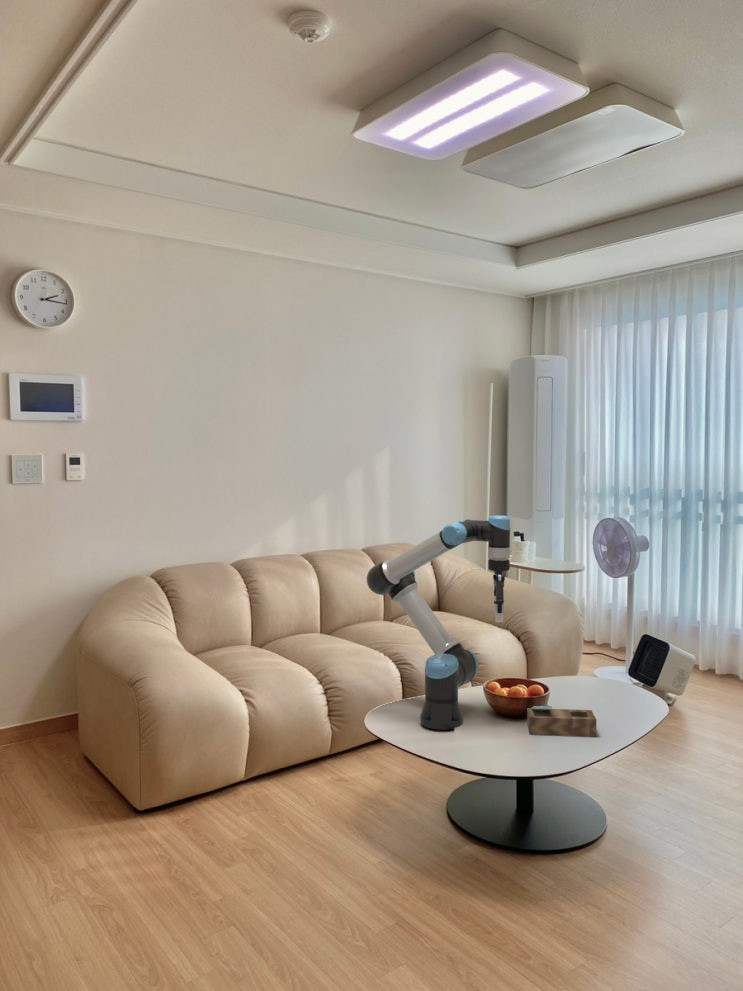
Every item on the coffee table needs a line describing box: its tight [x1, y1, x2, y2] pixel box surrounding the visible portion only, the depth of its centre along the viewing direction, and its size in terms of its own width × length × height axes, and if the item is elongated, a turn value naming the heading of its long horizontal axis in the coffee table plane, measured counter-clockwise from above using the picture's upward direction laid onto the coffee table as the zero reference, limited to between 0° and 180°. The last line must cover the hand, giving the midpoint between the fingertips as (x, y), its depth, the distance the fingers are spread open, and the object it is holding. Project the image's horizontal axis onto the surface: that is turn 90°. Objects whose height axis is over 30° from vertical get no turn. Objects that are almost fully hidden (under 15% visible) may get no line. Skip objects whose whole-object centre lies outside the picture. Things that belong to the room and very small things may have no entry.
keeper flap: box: [531, 705, 553, 710], centre depth 272 cm, size 6×1×8 cm
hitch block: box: [526, 708, 597, 738], centre depth 271 cm, size 22×10×6 cm, turn 83°
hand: (498, 618), depth 282 cm, fingers open, 13 cm apart
